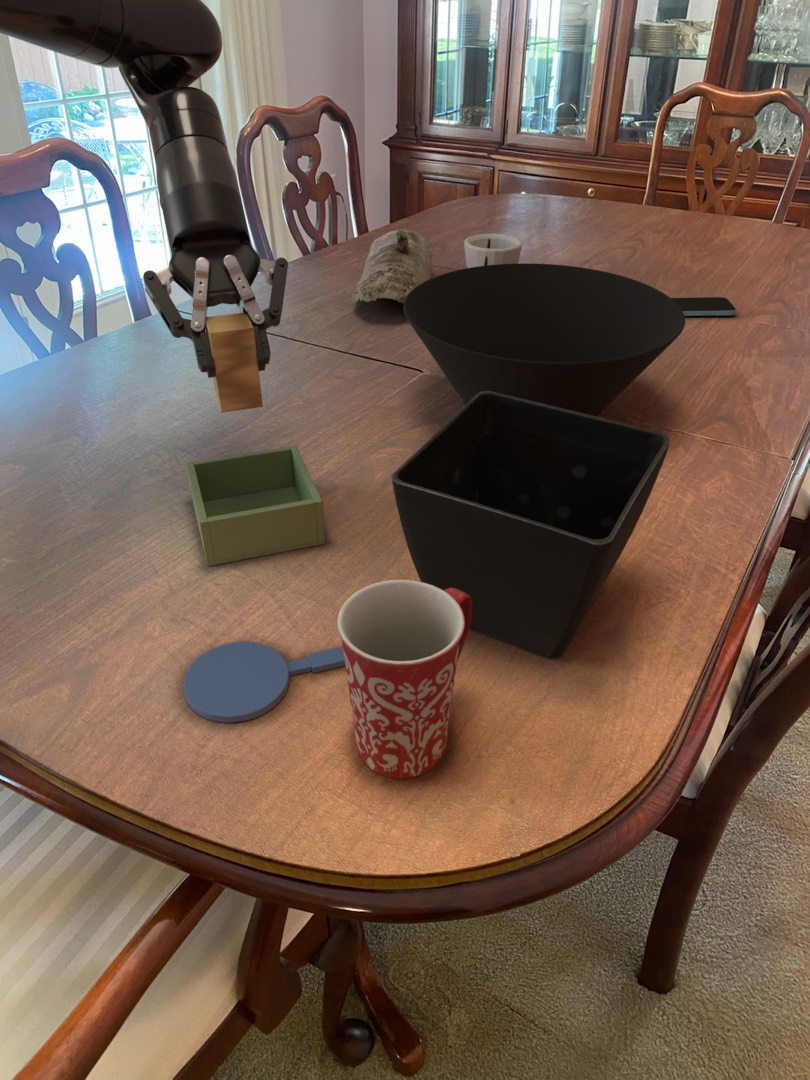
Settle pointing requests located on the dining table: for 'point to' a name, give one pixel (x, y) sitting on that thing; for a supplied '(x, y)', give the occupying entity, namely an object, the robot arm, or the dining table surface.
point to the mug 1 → (402, 671)
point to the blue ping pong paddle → (247, 679)
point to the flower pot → (526, 512)
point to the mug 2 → (491, 250)
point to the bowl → (542, 331)
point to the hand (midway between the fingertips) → (237, 370)
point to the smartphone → (705, 306)
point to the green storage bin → (255, 504)
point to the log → (394, 266)
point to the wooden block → (234, 362)
